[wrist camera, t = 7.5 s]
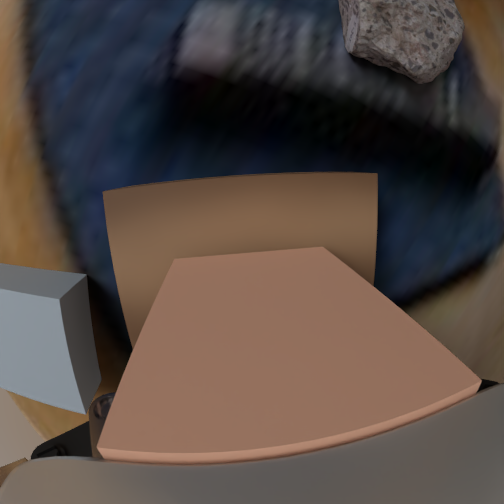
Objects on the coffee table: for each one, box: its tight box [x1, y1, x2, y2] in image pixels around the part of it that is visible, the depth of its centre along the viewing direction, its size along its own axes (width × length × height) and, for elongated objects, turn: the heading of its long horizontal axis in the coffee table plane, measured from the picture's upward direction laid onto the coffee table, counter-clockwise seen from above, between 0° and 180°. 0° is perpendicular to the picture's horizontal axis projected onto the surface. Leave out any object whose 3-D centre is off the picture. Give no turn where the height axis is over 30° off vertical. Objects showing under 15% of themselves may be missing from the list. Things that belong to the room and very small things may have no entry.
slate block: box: [0, 263, 102, 414], centre depth 15 cm, size 8×8×4 cm
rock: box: [339, 0, 465, 84], centre depth 12 cm, size 9×11×4 cm
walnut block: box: [103, 172, 378, 349], centre depth 15 cm, size 12×12×4 cm
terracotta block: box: [97, 247, 482, 464], centre depth 8 cm, size 6×6×9 cm
